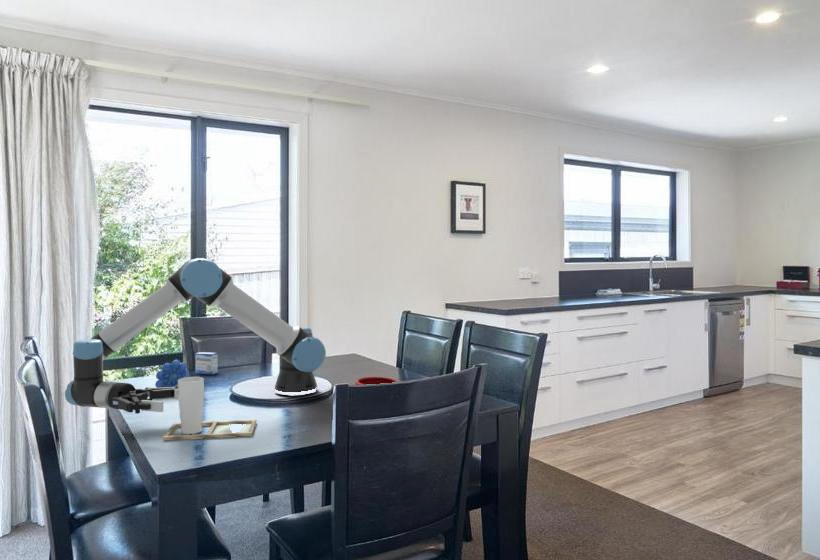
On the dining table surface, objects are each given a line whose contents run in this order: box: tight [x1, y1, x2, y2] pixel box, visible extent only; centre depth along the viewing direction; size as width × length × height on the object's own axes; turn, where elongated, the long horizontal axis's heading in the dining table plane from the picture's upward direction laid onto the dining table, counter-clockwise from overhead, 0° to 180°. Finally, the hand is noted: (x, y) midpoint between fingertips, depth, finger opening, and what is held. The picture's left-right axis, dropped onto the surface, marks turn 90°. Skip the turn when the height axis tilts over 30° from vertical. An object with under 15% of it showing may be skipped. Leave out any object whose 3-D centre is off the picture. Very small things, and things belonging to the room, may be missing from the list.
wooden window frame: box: [162, 418, 258, 441], centre depth 160 cm, size 23×13×1 cm, turn 100°
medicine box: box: [195, 351, 219, 375], centre depth 240 cm, size 8×4×9 cm, turn 80°
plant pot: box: [354, 376, 399, 386], centre depth 172 cm, size 13×13×12 cm
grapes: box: [154, 359, 190, 388], centre depth 205 cm, size 12×7×12 cm, turn 126°
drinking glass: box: [178, 376, 205, 435], centre depth 159 cm, size 7×7×15 cm
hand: (179, 400), depth 159 cm, fingers open, 13 cm apart
